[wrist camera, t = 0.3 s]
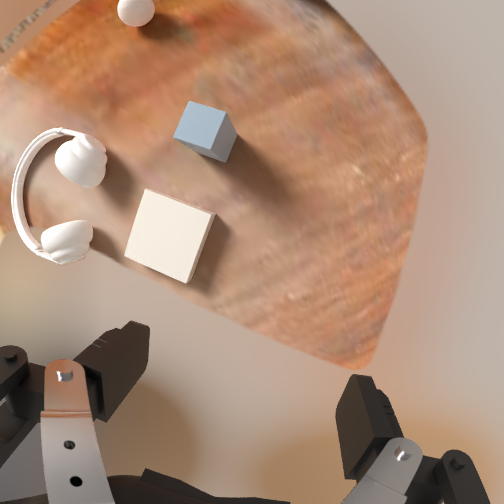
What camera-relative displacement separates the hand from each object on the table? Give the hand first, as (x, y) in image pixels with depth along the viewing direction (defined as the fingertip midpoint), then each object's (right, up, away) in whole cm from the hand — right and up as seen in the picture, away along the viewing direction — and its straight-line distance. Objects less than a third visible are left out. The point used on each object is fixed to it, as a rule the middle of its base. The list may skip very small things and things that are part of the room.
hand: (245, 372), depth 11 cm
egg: (-16, +40, +24) cm, 49 cm away
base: (-10, +7, +28) cm, 31 cm away
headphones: (-30, +14, +29) cm, 44 cm away
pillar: (-4, +18, +26) cm, 32 cm away
